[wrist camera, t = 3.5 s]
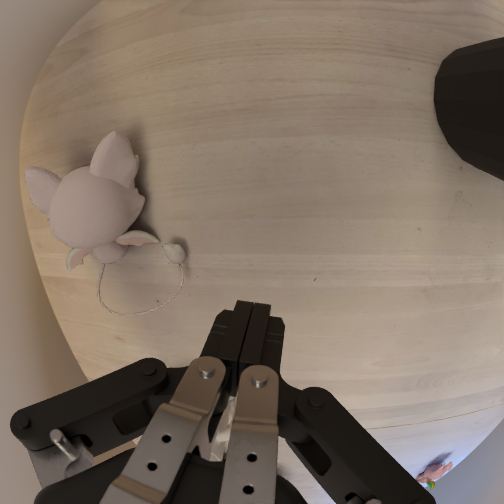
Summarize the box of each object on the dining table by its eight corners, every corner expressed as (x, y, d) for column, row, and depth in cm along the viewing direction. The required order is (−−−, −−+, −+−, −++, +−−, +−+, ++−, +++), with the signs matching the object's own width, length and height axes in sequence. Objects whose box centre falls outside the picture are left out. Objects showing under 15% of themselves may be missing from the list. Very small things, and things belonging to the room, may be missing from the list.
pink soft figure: (431, 469, 45) (459, 452, 36) (432, 490, 40) (462, 477, 31) (408, 474, 46) (434, 458, 37) (409, 495, 41) (435, 485, 32)
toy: (187, 237, 30) (125, 104, 19) (201, 293, 25) (116, 132, 14) (93, 278, 29) (14, 170, 19) (91, 335, 24) (-19, 219, 13)
